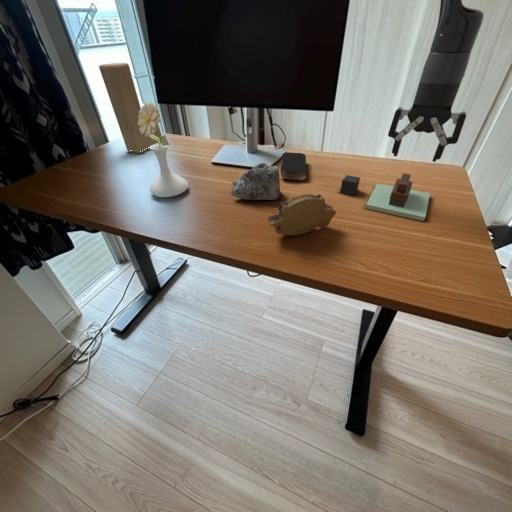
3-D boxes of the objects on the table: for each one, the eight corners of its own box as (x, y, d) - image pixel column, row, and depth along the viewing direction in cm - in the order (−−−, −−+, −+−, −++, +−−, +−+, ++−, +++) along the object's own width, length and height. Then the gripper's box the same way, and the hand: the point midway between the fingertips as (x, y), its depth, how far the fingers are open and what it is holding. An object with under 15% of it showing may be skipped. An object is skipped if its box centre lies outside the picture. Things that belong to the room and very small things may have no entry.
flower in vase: (147, 190, 85) (118, 100, 68) (181, 180, 89) (161, 94, 73) (159, 207, 76) (129, 108, 60) (197, 195, 80) (178, 101, 64)
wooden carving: (324, 219, 68) (329, 182, 62) (334, 228, 65) (341, 190, 59) (264, 235, 64) (264, 197, 57) (273, 246, 61) (273, 207, 54)
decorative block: (141, 154, 110) (113, 65, 91) (127, 152, 113) (97, 65, 93) (164, 142, 121) (143, 60, 101) (150, 141, 123) (128, 60, 104)
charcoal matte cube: (360, 177, 77) (346, 174, 79) (356, 182, 74) (342, 180, 76) (357, 190, 80) (344, 187, 81) (353, 195, 77) (339, 192, 79)
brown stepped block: (404, 207, 69) (411, 187, 65) (387, 204, 70) (393, 184, 67) (408, 193, 75) (415, 173, 71) (393, 190, 76) (399, 171, 73)
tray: (428, 197, 75) (430, 193, 74) (423, 221, 66) (425, 217, 65) (376, 187, 81) (377, 183, 80) (365, 208, 72) (366, 204, 71)
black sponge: (282, 162, 98) (282, 152, 96) (305, 162, 97) (306, 152, 95) (279, 181, 86) (279, 170, 84) (306, 182, 85) (307, 171, 83)
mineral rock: (229, 200, 78) (226, 166, 71) (247, 185, 85) (245, 153, 78) (270, 209, 73) (270, 174, 66) (285, 192, 80) (286, 159, 74)
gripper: (400, 80, 56) (380, 158, 66) (483, 82, 50) (447, 168, 60) (405, 75, 60) (386, 149, 71) (482, 77, 55) (448, 157, 65)
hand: (414, 157), depth 65 cm, fingers open, 8 cm apart
